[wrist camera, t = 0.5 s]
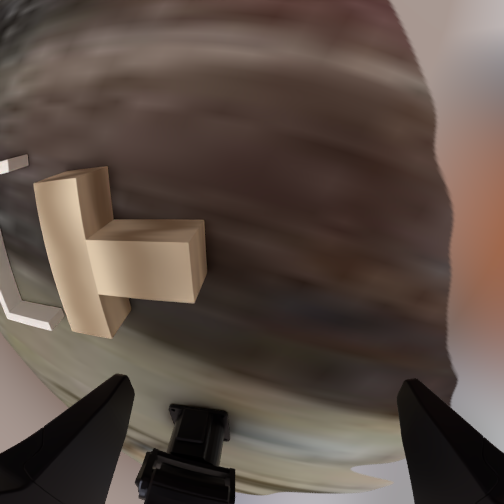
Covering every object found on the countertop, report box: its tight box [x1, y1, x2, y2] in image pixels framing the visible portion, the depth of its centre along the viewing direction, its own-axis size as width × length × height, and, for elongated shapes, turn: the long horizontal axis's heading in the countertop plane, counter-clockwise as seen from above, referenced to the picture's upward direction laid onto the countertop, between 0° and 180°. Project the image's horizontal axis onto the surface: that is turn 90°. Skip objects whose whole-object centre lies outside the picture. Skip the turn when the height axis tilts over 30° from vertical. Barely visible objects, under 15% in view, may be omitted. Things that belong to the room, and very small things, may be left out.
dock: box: [0, 154, 64, 331], centre depth 21 cm, size 16×8×2 cm, turn 0°
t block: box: [33, 166, 207, 339], centre depth 19 cm, size 11×12×4 cm
